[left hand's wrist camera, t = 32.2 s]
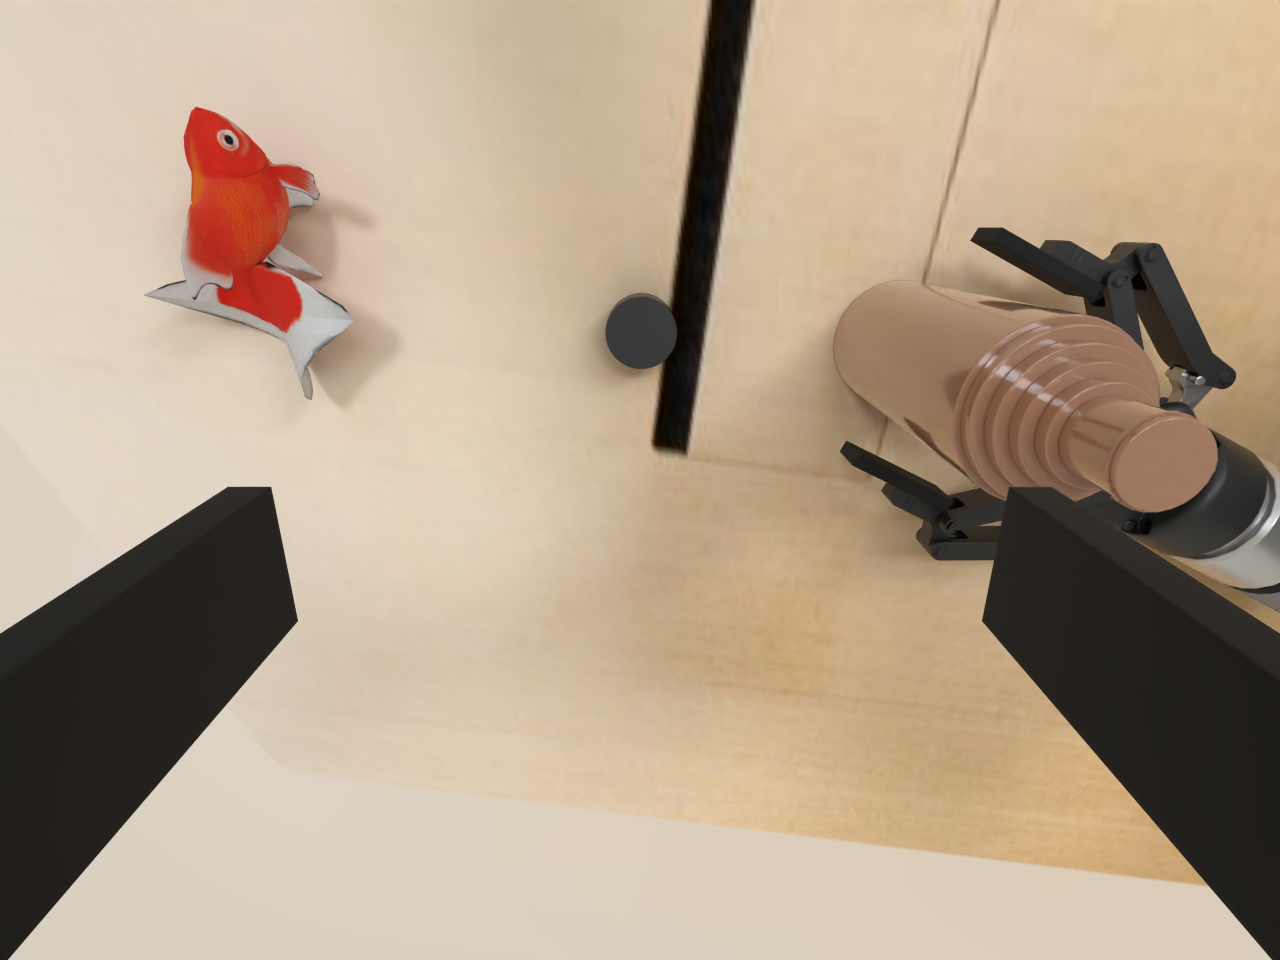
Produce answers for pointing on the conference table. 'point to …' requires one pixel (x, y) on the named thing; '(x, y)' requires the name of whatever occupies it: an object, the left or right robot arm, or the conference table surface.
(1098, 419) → the bottle
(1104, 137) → the conference table surface
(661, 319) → the cap
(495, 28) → the conference table surface
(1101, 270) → the right robot arm
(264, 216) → the fish
